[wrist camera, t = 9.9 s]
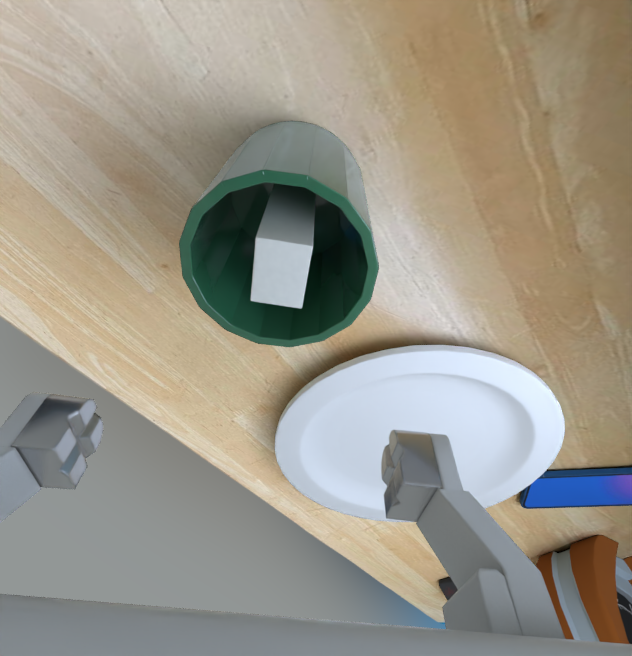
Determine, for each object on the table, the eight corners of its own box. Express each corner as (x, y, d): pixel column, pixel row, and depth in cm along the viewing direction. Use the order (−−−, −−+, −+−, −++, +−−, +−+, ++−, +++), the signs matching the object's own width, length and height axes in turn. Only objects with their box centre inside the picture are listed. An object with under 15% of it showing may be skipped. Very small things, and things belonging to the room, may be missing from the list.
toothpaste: (275, 169, 24) (250, 236, 16) (319, 177, 24) (317, 247, 16) (269, 219, 26) (245, 300, 18) (311, 226, 26) (306, 309, 18)
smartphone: (529, 476, 44) (679, 470, 42) (527, 469, 44) (674, 463, 42) (519, 509, 48) (654, 505, 46) (517, 502, 49) (650, 498, 47)
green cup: (225, 110, 23) (169, 156, 15) (376, 131, 23) (399, 187, 15) (228, 249, 28) (188, 336, 21) (350, 264, 29) (357, 355, 21)
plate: (532, 284, 29) (545, 302, 28) (566, 475, 45) (577, 494, 43) (224, 389, 38) (218, 408, 36) (341, 520, 53) (342, 538, 51)
